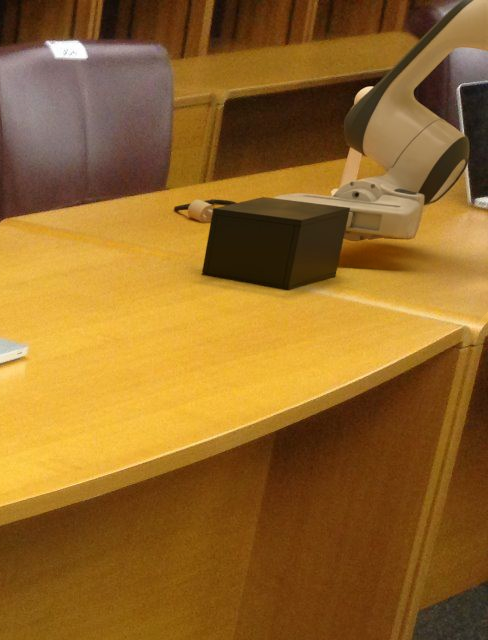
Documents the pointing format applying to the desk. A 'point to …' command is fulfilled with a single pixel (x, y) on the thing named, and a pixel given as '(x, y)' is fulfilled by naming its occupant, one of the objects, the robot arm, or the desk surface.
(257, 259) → the cabinet
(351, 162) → the joystick
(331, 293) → the desk surface
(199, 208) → the cable
